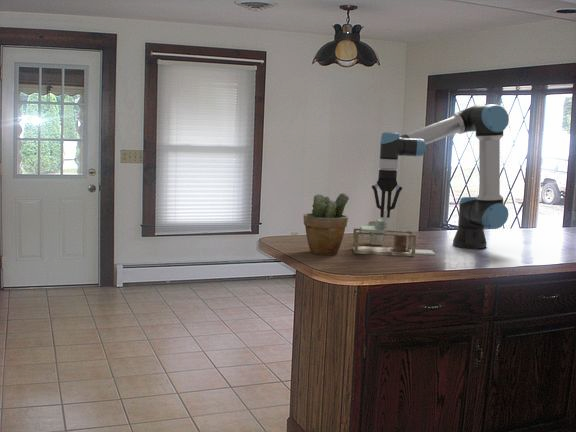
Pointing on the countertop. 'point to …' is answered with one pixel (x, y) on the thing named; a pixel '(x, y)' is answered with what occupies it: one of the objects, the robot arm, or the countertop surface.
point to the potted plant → (326, 224)
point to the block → (400, 243)
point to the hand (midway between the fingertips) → (384, 225)
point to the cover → (374, 227)
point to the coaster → (424, 252)
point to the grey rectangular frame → (384, 250)
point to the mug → (374, 238)
